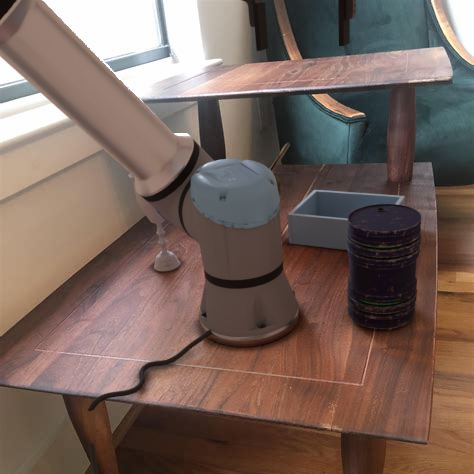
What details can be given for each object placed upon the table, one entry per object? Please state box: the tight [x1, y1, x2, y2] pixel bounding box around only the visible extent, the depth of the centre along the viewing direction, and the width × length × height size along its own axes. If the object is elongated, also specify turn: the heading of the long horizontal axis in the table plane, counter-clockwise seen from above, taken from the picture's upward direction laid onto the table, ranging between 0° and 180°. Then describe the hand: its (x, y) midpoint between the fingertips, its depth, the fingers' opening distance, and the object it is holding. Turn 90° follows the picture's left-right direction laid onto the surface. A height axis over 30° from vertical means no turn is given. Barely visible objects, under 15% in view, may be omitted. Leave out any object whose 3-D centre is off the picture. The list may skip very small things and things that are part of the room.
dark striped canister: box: [346, 204, 423, 330], centre depth 77 cm, size 10×10×15 cm
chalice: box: [128, 172, 181, 272], centre depth 99 cm, size 7×7×18 cm
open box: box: [286, 189, 406, 251], centre depth 106 cm, size 14×19×6 cm
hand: (301, 47), depth 84 cm, fingers open, 13 cm apart
